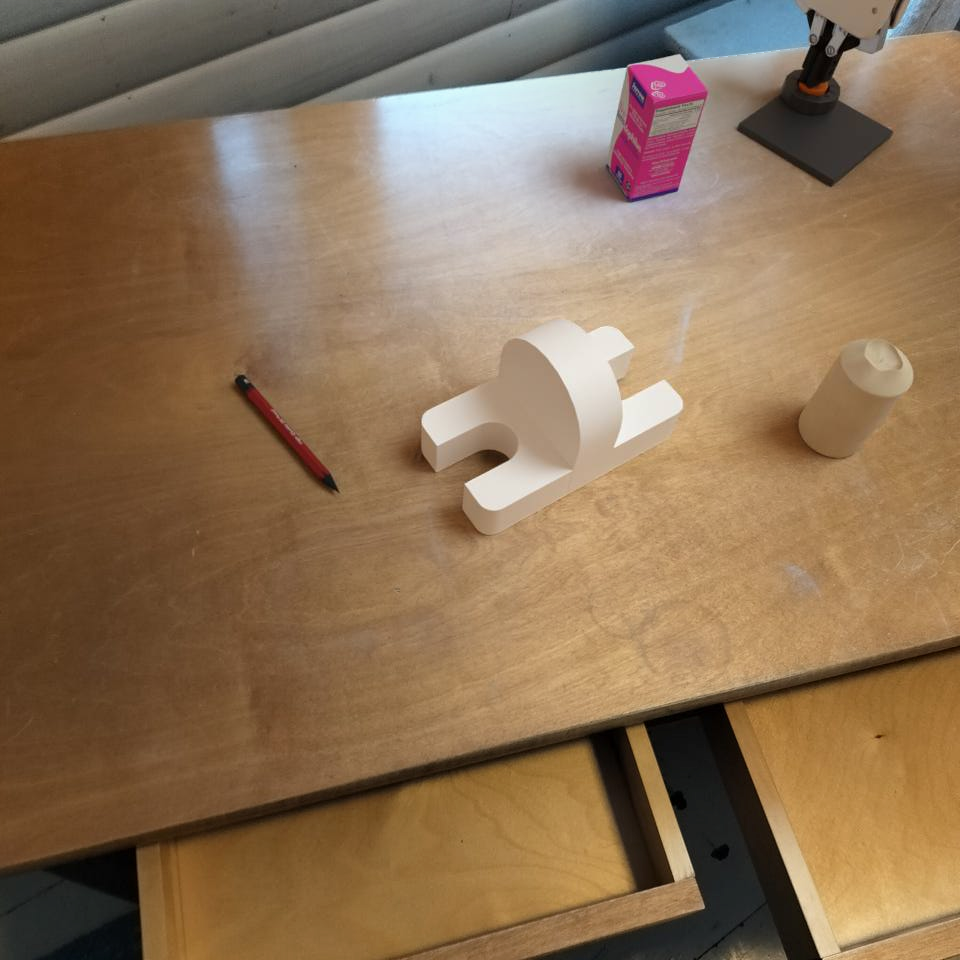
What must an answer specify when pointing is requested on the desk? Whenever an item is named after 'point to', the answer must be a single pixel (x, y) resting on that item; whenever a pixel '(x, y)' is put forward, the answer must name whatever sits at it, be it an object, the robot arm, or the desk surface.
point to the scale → (815, 130)
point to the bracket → (548, 421)
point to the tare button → (814, 89)
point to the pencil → (286, 432)
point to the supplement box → (655, 126)
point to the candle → (855, 397)
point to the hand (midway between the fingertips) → (812, 81)
